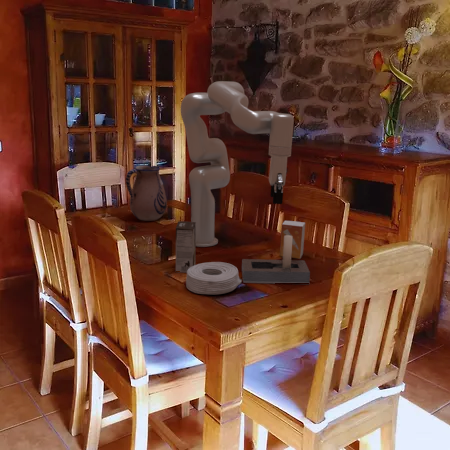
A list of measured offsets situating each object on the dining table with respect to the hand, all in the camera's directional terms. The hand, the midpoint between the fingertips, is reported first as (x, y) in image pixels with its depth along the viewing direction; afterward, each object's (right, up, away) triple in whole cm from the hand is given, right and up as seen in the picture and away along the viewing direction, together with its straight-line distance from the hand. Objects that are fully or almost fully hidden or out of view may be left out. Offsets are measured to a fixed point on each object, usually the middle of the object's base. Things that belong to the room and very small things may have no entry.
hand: (276, 200), depth 183 cm
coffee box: (-32, -24, +5) cm, 40 cm away
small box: (+8, -21, +22) cm, 31 cm away
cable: (-22, -29, -10) cm, 38 cm away
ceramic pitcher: (-55, -6, +68) cm, 88 cm away
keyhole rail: (-1, -26, -1) cm, 27 cm away
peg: (+3, -26, -1) cm, 26 cm away
